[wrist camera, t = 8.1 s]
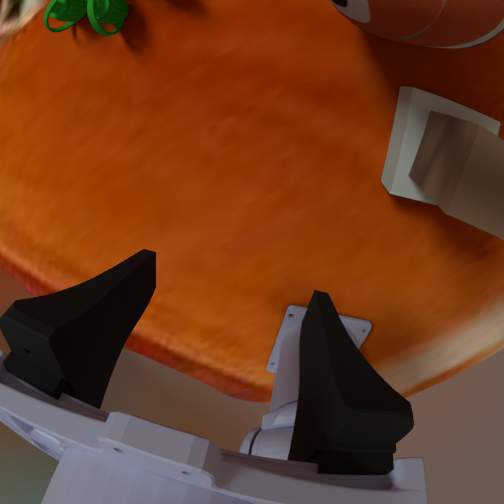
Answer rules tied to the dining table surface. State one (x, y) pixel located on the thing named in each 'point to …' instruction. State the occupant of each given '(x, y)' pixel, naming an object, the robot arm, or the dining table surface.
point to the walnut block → (462, 171)
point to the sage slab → (419, 137)
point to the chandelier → (97, 7)
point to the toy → (427, 20)
